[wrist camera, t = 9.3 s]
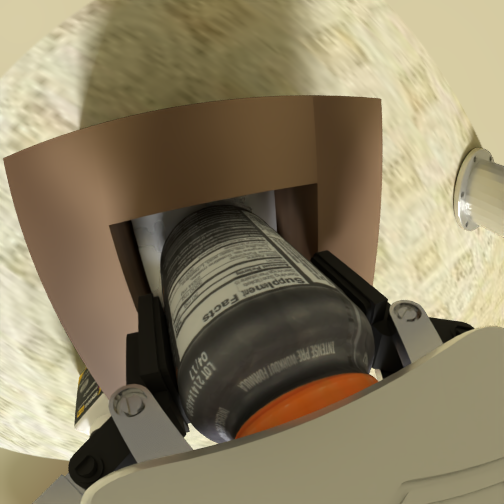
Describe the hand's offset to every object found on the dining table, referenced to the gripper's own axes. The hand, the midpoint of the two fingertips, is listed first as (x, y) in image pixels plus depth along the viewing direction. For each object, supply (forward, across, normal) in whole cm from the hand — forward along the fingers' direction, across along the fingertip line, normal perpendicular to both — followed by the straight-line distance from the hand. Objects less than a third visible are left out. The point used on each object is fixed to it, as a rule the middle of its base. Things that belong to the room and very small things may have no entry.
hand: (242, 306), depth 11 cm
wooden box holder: (+13, 0, 0) cm, 13 cm away
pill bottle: (+4, 0, 0) cm, 4 cm away
